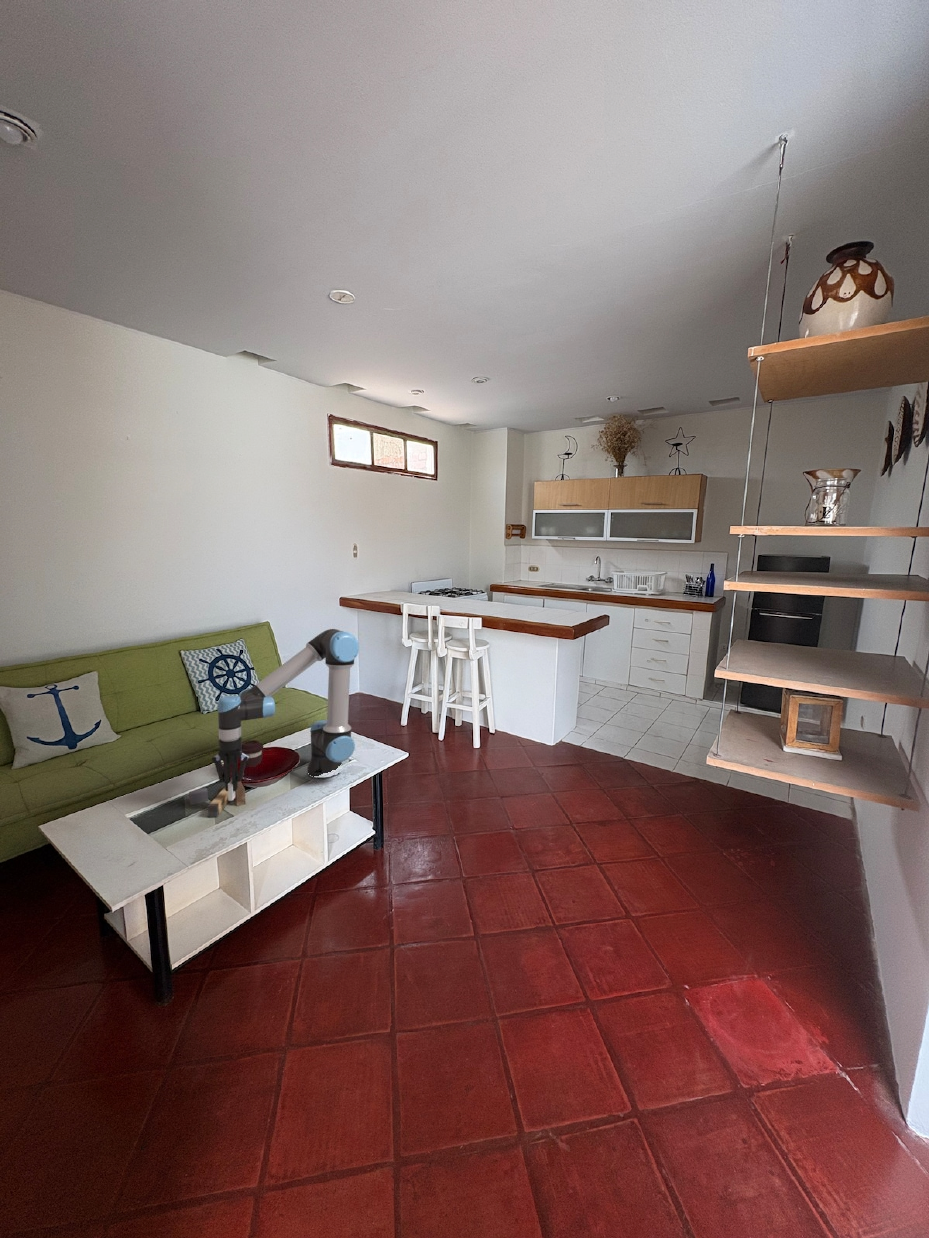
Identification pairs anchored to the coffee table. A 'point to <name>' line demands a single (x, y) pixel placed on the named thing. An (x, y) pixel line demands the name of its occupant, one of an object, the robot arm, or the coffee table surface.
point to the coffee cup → (252, 752)
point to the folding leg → (218, 803)
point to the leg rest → (198, 796)
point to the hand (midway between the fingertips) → (231, 798)
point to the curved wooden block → (239, 794)
